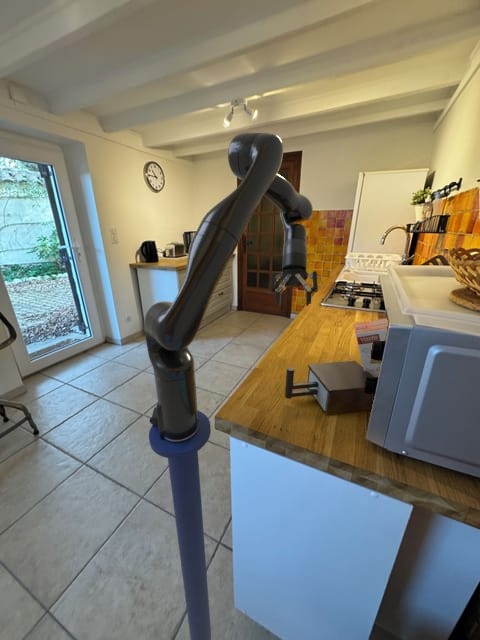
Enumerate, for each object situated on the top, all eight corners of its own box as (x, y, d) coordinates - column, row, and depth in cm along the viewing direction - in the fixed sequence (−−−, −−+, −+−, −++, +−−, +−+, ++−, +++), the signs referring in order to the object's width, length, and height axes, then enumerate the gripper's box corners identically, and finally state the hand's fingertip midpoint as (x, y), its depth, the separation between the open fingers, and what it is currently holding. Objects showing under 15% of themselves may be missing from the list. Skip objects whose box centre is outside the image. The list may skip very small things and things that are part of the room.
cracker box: (368, 391, 76) (355, 333, 69) (365, 378, 81) (352, 322, 74) (422, 387, 71) (415, 323, 63) (416, 373, 76) (408, 312, 68)
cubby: (326, 414, 67) (329, 390, 65) (305, 385, 80) (308, 364, 77) (379, 409, 69) (384, 385, 67) (351, 381, 82) (355, 360, 80)
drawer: (291, 414, 67) (294, 380, 63) (278, 389, 77) (280, 359, 74) (371, 406, 70) (378, 373, 67) (349, 383, 81) (354, 353, 77)
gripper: (270, 252, 79) (267, 301, 75) (317, 249, 75) (317, 301, 71) (274, 263, 86) (271, 309, 82) (317, 260, 82) (317, 308, 78)
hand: (293, 305), depth 77 cm, fingers open, 8 cm apart
